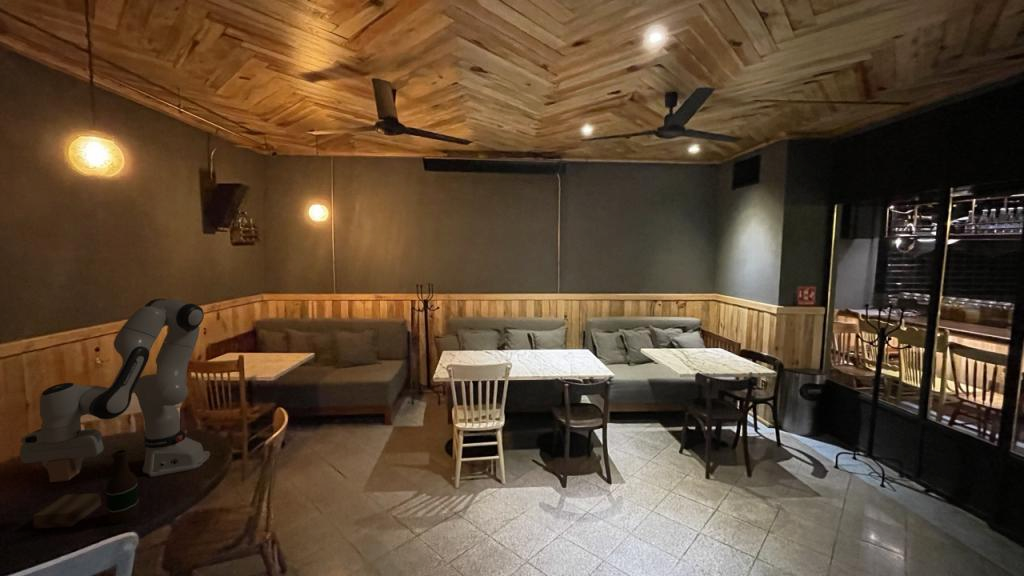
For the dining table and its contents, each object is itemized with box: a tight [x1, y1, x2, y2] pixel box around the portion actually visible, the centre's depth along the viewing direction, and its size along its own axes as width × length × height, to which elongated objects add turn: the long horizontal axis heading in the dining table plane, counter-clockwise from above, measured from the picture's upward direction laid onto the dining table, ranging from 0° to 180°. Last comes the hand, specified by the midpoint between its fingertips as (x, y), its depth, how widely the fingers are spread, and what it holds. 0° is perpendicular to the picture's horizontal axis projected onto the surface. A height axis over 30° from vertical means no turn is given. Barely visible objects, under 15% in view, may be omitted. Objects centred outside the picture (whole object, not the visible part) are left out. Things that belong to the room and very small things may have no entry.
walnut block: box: [32, 492, 102, 529], centre depth 137 cm, size 11×11×5 cm
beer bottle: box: [105, 449, 140, 525], centre depth 136 cm, size 8×8×24 cm
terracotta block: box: [48, 458, 81, 483], centre depth 135 cm, size 5×5×7 cm
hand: (64, 470), depth 135 cm, fingers closed on terracotta block, 5 cm apart
